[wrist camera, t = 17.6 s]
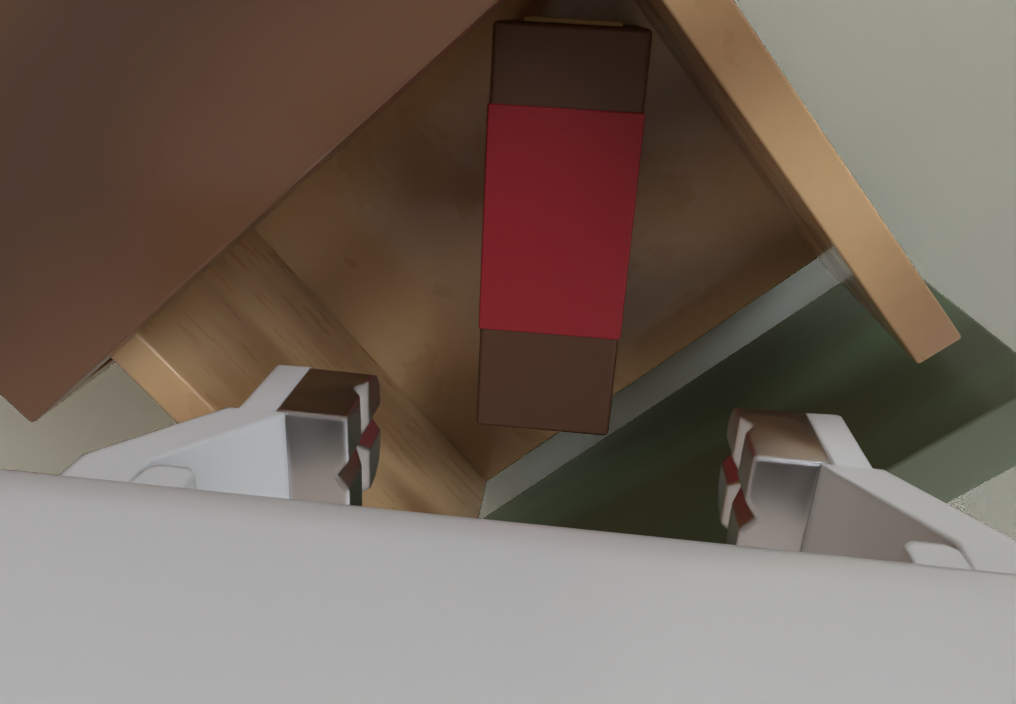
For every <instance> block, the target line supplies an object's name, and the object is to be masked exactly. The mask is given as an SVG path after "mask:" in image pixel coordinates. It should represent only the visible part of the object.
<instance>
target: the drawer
mask: <svg viewBox="0 0 1016 704" xmlns="http://www.w3.org/2000/svg"><path fill="white" fill-rule="evenodd" d="M533 16H535V17H552V18H570V19H588V20H605V21H619V22H623V25H636V26H640V27H644V28H648V29H650V30H651V31H652V34H653V35H652V44H651V53H650V62H649V71H648V80H647V89H646V98H645V106H644V113H645V124H644V133H643V142H642V151H641V160H640V169H639V178H638V187H637V195H636V204H635V213H634V222H633V231H632V240H631V249H630V258H629V267H628V275H627V284H626V293H625V302H624V311H623V320H622V329H621V338H620V339H619V340H618V349H617V357H616V366H615V375H614V384H613V393H612V396H614V395H615V394H616V393H618V392H619V391H621V390H622V389H624V388H625V387H627V386H628V385H630V384H631V383H633V382H634V381H636V380H637V379H639V378H640V377H642V376H643V375H645V374H646V373H648V372H649V371H651V370H652V369H653V368H655V367H656V366H658V365H659V364H661V363H662V362H664V361H665V360H667V359H668V358H670V357H671V356H673V355H674V354H676V353H677V352H679V351H680V350H682V349H683V348H685V347H686V346H688V345H689V344H690V343H692V342H693V341H695V340H696V339H698V338H699V337H701V336H702V335H704V334H705V333H707V332H708V331H710V330H711V329H713V328H714V327H716V326H717V325H719V324H720V323H722V322H723V321H725V320H726V319H727V318H729V317H730V316H732V315H733V314H735V313H736V312H738V311H739V310H741V309H742V308H744V307H745V306H747V305H748V304H750V303H751V302H753V301H754V300H756V299H757V298H759V297H760V296H762V295H763V294H764V293H766V292H767V291H769V290H770V289H772V288H773V287H775V286H776V285H778V284H779V283H781V282H782V281H784V280H785V279H787V278H788V277H790V276H791V275H793V274H794V273H796V272H797V271H799V270H800V269H801V268H803V267H804V266H806V265H807V264H809V263H810V262H812V261H813V260H815V259H816V258H818V259H819V260H820V261H821V262H822V263H823V264H824V265H825V266H826V267H827V268H828V270H829V271H830V272H831V273H832V274H833V275H834V276H835V277H836V278H837V279H838V280H839V281H840V282H841V283H840V284H838V285H837V286H835V287H834V288H832V289H831V290H829V291H827V292H826V293H824V294H823V295H821V296H820V297H818V298H817V299H815V300H814V301H812V302H811V303H809V304H808V305H806V306H805V307H803V308H802V309H800V310H799V311H797V312H796V313H794V314H793V315H791V316H790V317H788V318H786V319H785V320H783V321H782V322H780V323H779V324H777V325H776V326H774V327H773V328H771V329H770V330H768V331H767V332H765V333H764V334H762V335H761V336H759V337H758V338H756V339H755V340H753V341H752V342H750V343H749V344H747V345H746V346H744V347H742V348H741V349H739V350H738V351H736V352H735V353H733V354H732V355H730V356H729V357H727V358H726V359H724V360H723V361H721V362H720V363H718V364H717V365H715V366H714V367H712V368H711V369H709V370H708V371H706V372H705V373H703V374H701V375H700V376H698V377H697V378H695V379H694V380H692V381H691V382H689V383H688V384H686V385H685V386H683V387H682V388H680V389H679V390H677V391H676V392H674V393H673V394H671V395H670V396H668V397H667V398H665V399H664V400H662V401H660V402H659V403H657V404H656V405H654V406H653V407H651V408H650V409H648V410H647V411H645V412H644V413H642V414H641V415H639V416H638V417H636V418H635V419H633V420H632V421H630V422H629V423H627V424H626V425H624V426H623V427H621V428H619V429H618V430H616V431H615V432H613V433H612V434H610V435H609V436H607V437H606V438H604V439H603V440H601V441H600V442H598V443H597V444H595V445H594V446H592V447H591V448H589V449H588V450H586V451H585V452H583V453H582V454H580V455H578V456H577V457H575V458H574V459H572V460H571V461H569V462H568V463H566V464H565V465H563V466H562V467H560V468H559V469H557V470H556V471H554V472H553V473H551V474H550V475H548V476H547V477H545V478H544V479H542V480H541V481H539V482H538V483H536V484H534V485H533V486H531V487H530V488H528V489H527V490H525V491H524V492H522V493H521V494H519V495H518V496H516V497H515V498H513V499H512V500H510V501H509V502H507V503H506V504H504V505H503V506H501V507H500V508H498V509H497V510H495V511H493V512H492V513H490V514H489V515H487V516H486V517H484V518H483V519H489V520H498V521H508V522H518V523H527V524H537V525H547V526H556V527H566V528H576V529H585V530H595V531H605V532H614V533H624V534H634V535H643V536H653V537H663V538H672V539H682V540H692V541H701V542H711V543H721V544H725V540H726V534H727V528H726V527H724V526H723V525H722V524H721V523H720V518H719V513H718V502H717V498H718V482H719V475H720V469H721V462H722V461H723V460H724V459H726V458H727V457H728V456H729V455H730V454H731V451H730V448H729V444H728V440H727V437H726V434H727V429H728V423H729V419H730V416H731V413H732V410H733V409H735V408H737V407H738V408H753V409H767V410H782V411H796V412H805V413H810V414H830V415H838V416H840V417H842V419H843V420H844V422H845V424H846V425H847V427H848V429H849V430H850V432H851V434H852V435H853V437H854V438H855V440H856V442H857V443H858V445H859V447H860V448H861V450H862V452H863V453H864V455H865V457H866V458H867V460H868V462H869V463H870V465H871V466H872V468H873V469H882V470H885V471H887V472H889V473H891V474H893V475H894V476H896V477H898V478H900V479H902V480H904V481H906V482H907V483H909V484H911V485H913V486H915V487H917V488H919V489H920V490H922V491H924V492H926V493H928V494H930V495H932V496H933V497H935V498H937V499H939V500H941V501H943V502H945V503H947V502H949V501H951V500H953V499H955V498H956V497H958V496H960V495H962V494H964V493H966V492H968V491H969V490H971V489H973V488H975V487H977V486H979V485H980V484H982V483H984V482H986V481H988V480H990V479H992V478H993V477H995V476H997V475H999V474H1001V473H1003V472H1004V471H1006V470H1008V469H1010V468H1012V467H1014V466H1015V465H1016V352H1014V351H1013V350H1012V349H1011V348H1009V347H1008V346H1007V345H1006V344H1004V343H1003V342H1002V341H1001V340H999V339H998V338H997V337H996V336H994V335H993V334H992V333H990V332H989V331H988V330H987V329H985V328H984V327H983V326H982V325H980V324H979V323H978V322H977V321H975V320H974V319H973V318H972V317H970V316H969V315H968V314H966V313H965V312H964V311H963V310H961V309H960V308H959V307H958V306H956V305H955V304H954V303H953V302H951V301H950V300H949V299H948V298H946V297H945V296H944V295H942V294H941V293H940V292H939V291H937V290H936V289H935V288H934V287H932V286H931V285H930V284H929V283H927V282H926V281H925V280H924V279H922V277H921V276H920V275H919V273H918V272H917V270H916V269H915V267H914V266H913V264H912V263H911V261H910V260H909V258H908V257H907V255H906V254H905V252H904V251H903V249H902V248H901V246H900V245H899V244H898V242H897V241H896V239H895V238H894V236H893V235H892V233H891V232H890V230H889V229H888V227H887V226H886V224H885V223H884V221H883V220H882V218H881V217H880V215H879V214H878V213H877V211H876V210H875V208H874V207H873V205H872V204H871V202H870V201H869V199H868V198H867V196H866V195H865V193H864V192H863V190H862V189H861V187H860V186H859V184H858V183H857V182H856V180H855V179H854V177H853V176H852V174H851V173H850V171H849V170H848V168H847V167H846V165H845V164H844V162H843V161H842V159H841V158H840V156H839V155H838V153H837V152H836V151H835V149H834V148H833V146H832V145H831V143H830V142H829V140H828V139H827V137H826V136H825V134H824V133H823V131H822V130H821V128H820V127H819V125H818V124H817V122H816V121H815V120H814V118H813V117H812V115H811V114H810V112H809V111H808V109H807V108H806V106H805V105H804V103H803V102H802V100H801V99H800V97H799V96H798V94H797V93H796V91H795V90H794V89H793V87H792V86H791V84H790V83H789V81H788V80H787V78H786V77H785V75H784V74H783V72H782V71H781V69H780V68H779V66H778V65H777V63H776V62H775V60H774V59H773V58H772V56H771V55H770V53H769V52H768V50H767V49H766V47H765V46H764V44H763V43H762V41H761V40H760V38H759V37H758V35H757V34H756V32H755V31H754V29H753V28H752V27H751V25H750V24H749V22H748V21H747V19H746V18H745V16H744V15H743V13H742V12H741V10H740V9H739V7H738V6H737V4H736V3H735V1H734V0H505V1H504V2H503V3H502V4H501V5H500V6H499V7H498V8H497V9H495V10H494V11H493V12H492V13H491V14H490V15H489V16H488V17H487V18H486V19H484V20H483V21H482V22H481V23H480V24H479V25H478V26H477V27H476V28H474V29H473V30H472V31H471V32H470V33H469V34H468V35H467V36H466V37H464V38H463V39H462V40H461V41H460V42H459V43H458V44H457V45H456V46H455V47H453V48H452V49H451V50H450V51H449V52H448V53H447V54H446V55H445V56H443V57H442V58H441V59H440V60H439V61H438V62H437V63H436V64H435V65H433V66H432V67H431V68H430V69H429V70H428V71H427V72H426V73H425V74H424V75H422V76H421V77H420V78H419V79H418V80H417V81H416V82H415V83H414V84H412V85H411V86H410V87H409V88H408V89H407V90H406V91H405V92H404V93H402V94H401V95H400V96H399V97H398V98H397V99H396V100H395V101H394V102H393V103H391V104H390V105H389V106H388V107H387V108H386V109H385V110H384V111H383V112H381V113H380V114H379V115H378V116H377V117H376V118H375V119H374V120H373V121H371V122H370V123H369V124H368V125H367V126H366V127H365V128H364V129H363V130H362V131H360V132H359V133H358V134H357V135H356V136H355V137H354V138H353V139H352V140H350V141H349V142H348V143H347V144H346V145H345V146H344V147H343V148H342V149H341V150H339V151H338V152H337V153H336V154H335V155H334V156H333V157H332V158H331V159H329V160H328V161H327V162H326V163H325V164H324V165H323V166H322V167H321V168H319V169H318V170H317V171H316V172H315V173H314V174H313V175H312V176H311V177H310V178H308V179H307V180H306V181H305V182H304V183H303V184H302V185H301V186H300V187H298V188H297V189H296V190H295V191H294V192H293V193H292V194H291V195H290V196H288V197H287V198H286V199H285V200H284V201H283V202H282V203H281V204H280V205H279V206H277V207H276V208H275V209H274V210H273V211H272V212H271V213H270V214H269V215H267V216H266V217H265V218H264V219H263V220H262V221H261V222H260V223H259V224H257V225H256V226H255V227H254V228H253V229H252V230H251V231H250V232H249V233H248V234H246V235H245V236H244V237H243V238H242V239H241V240H240V241H239V242H238V243H236V244H235V245H234V246H233V247H232V248H231V249H230V250H229V251H228V252H226V253H225V254H224V255H223V256H222V257H221V258H220V259H219V260H218V261H217V262H215V263H214V264H213V265H212V266H211V267H210V268H209V269H208V270H207V271H205V272H204V273H203V274H202V275H201V276H200V277H199V278H198V279H197V280H195V281H194V282H193V283H192V284H191V285H190V286H189V287H188V288H187V289H186V290H184V291H183V292H182V293H181V294H180V295H179V296H178V297H177V298H176V299H174V300H173V301H172V302H171V303H170V304H169V305H168V306H167V307H166V308H164V309H163V310H162V311H161V312H160V313H159V314H158V315H157V316H156V317H155V318H153V319H152V320H151V321H150V322H149V323H148V324H147V325H146V326H145V327H143V328H142V329H141V330H140V331H139V332H138V333H137V334H136V335H135V336H133V337H132V338H131V339H130V340H129V341H128V342H127V343H126V344H125V345H124V346H122V347H121V348H120V349H119V350H118V351H117V352H116V353H115V354H114V355H112V356H111V358H112V359H113V360H114V361H115V362H116V363H117V364H118V365H119V366H120V367H121V368H122V369H123V370H124V371H125V372H126V373H127V374H128V375H129V376H130V377H131V378H132V379H133V380H134V381H135V382H136V383H137V384H138V385H140V386H141V387H142V388H143V389H144V390H145V391H146V392H147V393H148V394H149V395H150V396H151V397H152V398H153V399H154V400H155V401H156V402H157V403H158V404H159V405H160V406H161V407H162V408H163V409H164V410H165V411H166V412H167V413H168V414H169V415H170V416H171V417H172V418H173V419H174V420H175V421H176V422H177V423H178V424H179V423H182V422H185V421H188V420H191V419H194V418H197V417H200V416H203V415H206V414H209V413H212V412H216V411H219V410H222V409H225V408H228V407H233V408H239V407H240V406H241V405H242V404H243V403H244V402H245V401H246V400H247V398H248V397H249V396H250V395H251V394H252V393H253V392H254V391H255V390H256V389H257V387H258V386H259V385H260V384H261V383H262V382H263V381H264V380H265V379H266V377H267V376H268V375H269V374H270V373H271V372H272V371H273V370H274V369H275V368H276V367H277V366H278V365H287V366H304V367H312V368H316V369H325V370H334V371H343V372H353V373H362V374H371V375H377V377H378V380H379V383H380V405H379V407H378V409H377V410H376V412H375V414H374V416H373V420H374V421H375V423H376V424H377V425H378V427H379V428H380V429H381V445H380V456H379V463H378V467H377V472H376V476H375V479H374V481H373V483H372V486H371V488H369V489H368V490H366V491H364V492H362V506H363V507H373V508H382V509H392V510H402V511H411V512H421V513H431V514H440V515H450V516H460V517H469V518H479V514H480V509H481V504H482V500H483V495H484V491H485V486H486V481H488V480H489V479H491V478H492V477H494V476H495V475H497V474H498V473H500V472H501V471H503V470H504V469H505V468H507V467H508V466H510V465H511V464H513V463H514V462H516V461H517V460H519V459H520V458H522V457H523V456H525V455H526V454H528V453H529V452H531V451H532V450H534V449H535V448H537V447H538V446H540V445H541V444H542V443H544V442H545V441H547V440H548V439H550V438H551V437H553V436H554V435H556V434H557V433H559V432H560V431H550V430H538V429H527V428H516V427H505V426H493V425H482V424H478V423H477V420H476V417H477V393H478V369H479V345H480V328H479V326H478V324H479V299H480V275H481V250H482V226H483V201H484V176H485V152H486V127H487V105H488V103H489V102H490V81H491V57H492V33H493V24H494V21H497V20H504V19H524V17H533Z"/></svg>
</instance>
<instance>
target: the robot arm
mask: <svg viewBox="0 0 1016 704" xmlns="http://www.w3.org/2000/svg"><path fill="white" fill-rule="evenodd" d="M379 405H380V383H379V380H378V377H377V375H371V374H362V373H353V372H343V371H334V370H325V369H316V368H312V367H304V366H287V365H278V366H277V367H276V368H275V369H274V370H273V371H272V372H271V373H270V374H269V375H268V376H267V377H266V379H265V380H264V381H263V382H262V383H261V384H260V385H259V386H258V387H257V389H256V390H255V391H254V392H253V393H252V394H251V395H250V396H249V397H248V398H247V400H246V401H245V402H244V403H243V404H242V405H241V406H240V407H239V408H233V407H228V408H225V409H222V410H219V411H216V412H212V413H209V414H206V415H203V416H200V417H197V418H194V419H191V420H188V421H185V422H182V423H179V424H175V425H172V426H169V427H166V428H163V429H160V430H157V431H154V432H151V433H148V434H145V435H142V436H138V437H135V438H132V439H129V440H126V441H123V442H120V443H117V444H114V445H111V446H108V447H104V448H101V449H98V450H95V451H92V452H89V453H86V454H83V455H81V456H80V457H79V458H78V459H77V460H76V461H75V462H73V463H72V464H71V465H70V466H69V467H68V468H66V469H65V470H64V471H63V472H62V473H61V474H59V475H53V474H44V473H34V472H24V471H15V470H5V469H0V704H1016V541H1015V540H1013V539H1011V538H1010V537H1008V536H1006V535H1004V534H1002V533H1000V532H998V531H997V530H995V529H993V528H991V527H989V526H987V525H985V524H984V523H982V522H980V521H978V520H976V519H974V518H972V517H971V516H969V515H967V514H965V513H963V512H961V511H959V510H958V509H956V508H954V507H952V506H950V505H948V504H946V503H945V502H943V501H941V500H939V499H937V498H935V497H933V496H932V495H930V494H928V493H926V492H924V491H922V490H920V489H919V488H917V487H915V486H913V485H911V484H909V483H907V482H906V481H904V480H902V479H900V478H898V477H896V476H894V475H893V474H891V473H889V472H887V471H885V470H882V469H873V468H872V466H871V465H870V463H869V462H868V460H867V458H866V457H865V455H864V453H863V452H862V450H861V448H860V447H859V445H858V443H857V442H856V440H855V438H854V437H853V435H852V434H851V432H850V430H849V429H848V427H847V425H846V424H845V422H844V420H843V419H842V417H840V416H838V415H830V414H810V413H805V412H796V411H782V410H767V409H753V408H738V407H737V408H735V409H733V410H732V413H731V416H730V419H729V423H728V429H727V434H726V437H727V440H728V444H729V448H730V451H731V454H730V455H729V456H728V457H727V458H726V459H724V460H723V461H722V462H721V469H720V475H719V482H718V498H717V502H718V513H719V518H720V523H721V524H722V525H723V526H724V527H726V528H727V534H726V540H725V544H721V543H711V542H701V541H692V540H682V539H672V538H663V537H653V536H643V535H634V534H624V533H614V532H605V531H595V530H585V529H576V528H566V527H556V526H547V525H537V524H527V523H518V522H508V521H498V520H489V519H479V518H469V517H460V516H450V515H440V514H431V513H421V512H411V511H402V510H392V509H382V508H373V507H363V506H362V492H364V491H366V490H368V489H369V488H371V486H372V483H373V481H374V479H375V476H376V472H377V467H378V463H379V456H380V445H381V429H380V428H379V427H378V425H377V424H376V423H375V421H374V420H373V416H374V414H375V412H376V410H377V409H378V407H379Z"/></svg>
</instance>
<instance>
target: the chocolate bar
mask: <svg viewBox="0 0 1016 704" xmlns="http://www.w3.org/2000/svg"><path fill="white" fill-rule="evenodd" d="M652 35H653V34H652V31H651V30H650V29H648V28H644V27H640V26H636V25H623V22H619V21H605V20H588V19H570V18H552V17H535V16H533V17H524V19H504V20H497V21H494V24H493V33H492V57H491V81H490V102H489V103H488V105H487V127H486V152H485V176H484V201H483V226H482V250H481V275H480V299H479V324H478V326H479V328H480V345H479V369H478V393H477V417H476V420H477V423H478V424H482V425H493V426H505V427H516V428H527V429H538V430H550V431H561V432H572V433H583V434H595V435H606V434H607V433H608V429H609V420H610V411H611V402H612V393H613V384H614V375H615V366H616V357H617V349H618V340H619V339H620V338H621V329H622V320H623V311H624V302H625V293H626V284H627V275H628V267H629V258H630V249H631V240H632V231H633V222H634V213H635V204H636V195H637V187H638V178H639V169H640V160H641V151H642V142H643V133H644V124H645V113H644V106H645V98H646V89H647V80H648V71H649V62H650V53H651V44H652Z"/></svg>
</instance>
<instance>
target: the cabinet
mask: <svg viewBox="0 0 1016 704" xmlns="http://www.w3.org/2000/svg"><path fill="white" fill-rule="evenodd" d="M504 1H505V0H0V394H1V395H2V396H3V397H4V398H5V399H6V400H7V401H8V402H9V403H10V404H12V405H13V406H14V407H15V408H16V409H17V410H18V411H19V412H20V413H21V414H22V415H23V416H25V417H26V418H27V419H28V420H29V421H31V422H33V421H37V420H38V419H39V418H41V417H42V416H43V415H45V414H46V413H47V412H49V411H50V410H51V409H53V408H54V407H56V406H57V405H58V404H59V403H60V402H63V401H64V400H65V399H67V398H68V397H69V396H71V395H72V394H73V393H75V392H76V391H77V390H79V389H80V388H82V387H83V386H84V385H86V384H87V383H88V382H90V381H91V380H92V379H94V378H95V377H97V376H98V375H99V374H101V373H102V372H103V371H105V370H106V369H107V368H109V367H110V366H111V365H113V364H114V363H116V362H115V361H114V360H113V359H112V358H111V356H112V355H114V354H115V353H116V352H117V351H118V350H119V349H120V348H121V347H122V346H124V345H125V344H126V343H127V342H128V341H129V340H130V339H131V338H132V337H133V336H135V335H136V334H137V333H138V332H139V331H140V330H141V329H142V328H143V327H145V326H146V325H147V324H148V323H149V322H150V321H151V320H152V319H153V318H155V317H156V316H157V315H158V314H159V313H160V312H161V311H162V310H163V309H164V308H166V307H167V306H168V305H169V304H170V303H171V302H172V301H173V300H174V299H176V298H177V297H178V296H179V295H180V294H181V293H182V292H183V291H184V290H186V289H187V288H188V287H189V286H190V285H191V284H192V283H193V282H194V281H195V280H197V279H198V278H199V277H200V276H201V275H202V274H203V273H204V272H205V271H207V270H208V269H209V268H210V267H211V266H212V265H213V264H214V263H215V262H217V261H218V260H219V259H220V258H221V257H222V256H223V255H224V254H225V253H226V252H228V251H229V250H230V249H231V248H232V247H233V246H234V245H235V244H236V243H238V242H239V241H240V240H241V239H242V238H243V237H244V236H245V235H246V234H248V233H249V232H250V231H251V230H252V229H253V228H254V227H255V226H256V225H257V224H259V223H260V222H261V221H262V220H263V219H264V218H265V217H266V216H267V215H269V214H270V213H271V212H272V211H273V210H274V209H275V208H276V207H277V206H279V205H280V204H281V203H282V202H283V201H284V200H285V199H286V198H287V197H288V196H290V195H291V194H292V193H293V192H294V191H295V190H296V189H297V188H298V187H300V186H301V185H302V184H303V183H304V182H305V181H306V180H307V179H308V178H310V177H311V176H312V175H313V174H314V173H315V172H316V171H317V170H318V169H319V168H321V167H322V166H323V165H324V164H325V163H326V162H327V161H328V160H329V159H331V158H332V157H333V156H334V155H335V154H336V153H337V152H338V151H339V150H341V149H342V148H343V147H344V146H345V145H346V144H347V143H348V142H349V141H350V140H352V139H353V138H354V137H355V136H356V135H357V134H358V133H359V132H360V131H362V130H363V129H364V128H365V127H366V126H367V125H368V124H369V123H370V122H371V121H373V120H374V119H375V118H376V117H377V116H378V115H379V114H380V113H381V112H383V111H384V110H385V109H386V108H387V107H388V106H389V105H390V104H391V103H393V102H394V101H395V100H396V99H397V98H398V97H399V96H400V95H401V94H402V93H404V92H405V91H406V90H407V89H408V88H409V87H410V86H411V85H412V84H414V83H415V82H416V81H417V80H418V79H419V78H420V77H421V76H422V75H424V74H425V73H426V72H427V71H428V70H429V69H430V68H431V67H432V66H433V65H435V64H436V63H437V62H438V61H439V60H440V59H441V58H442V57H443V56H445V55H446V54H447V53H448V52H449V51H450V50H451V49H452V48H453V47H455V46H456V45H457V44H458V43H459V42H460V41H461V40H462V39H463V38H464V37H466V36H467V35H468V34H469V33H470V32H471V31H472V30H473V29H474V28H476V27H477V26H478V25H479V24H480V23H481V22H482V21H483V20H484V19H486V18H487V17H488V16H489V15H490V14H491V13H492V12H493V11H494V10H495V9H497V8H498V7H499V6H500V5H501V4H502V3H503V2H504Z"/></svg>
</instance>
